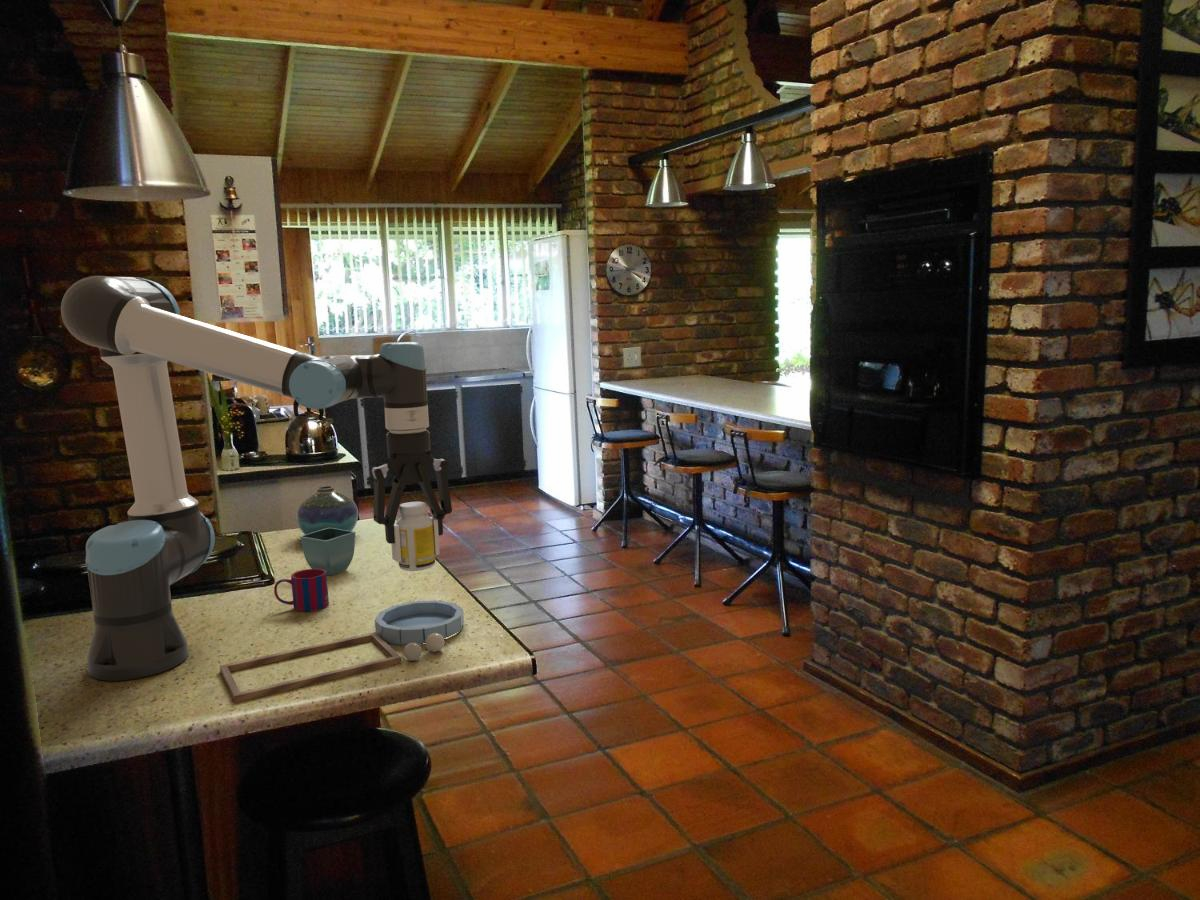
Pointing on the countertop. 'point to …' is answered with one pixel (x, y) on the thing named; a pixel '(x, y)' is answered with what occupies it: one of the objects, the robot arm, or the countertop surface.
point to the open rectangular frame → (308, 680)
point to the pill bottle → (416, 537)
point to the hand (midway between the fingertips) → (416, 556)
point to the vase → (327, 511)
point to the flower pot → (329, 549)
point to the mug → (307, 590)
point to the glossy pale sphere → (412, 651)
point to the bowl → (418, 621)
